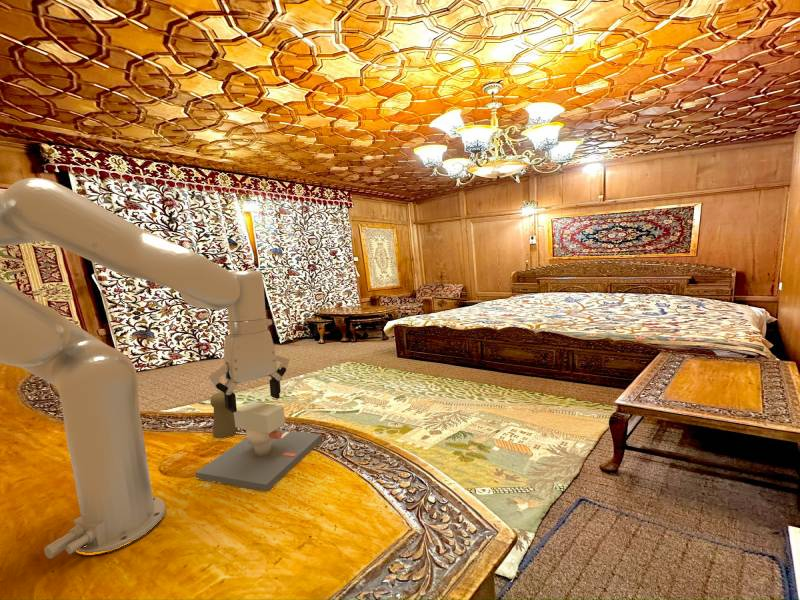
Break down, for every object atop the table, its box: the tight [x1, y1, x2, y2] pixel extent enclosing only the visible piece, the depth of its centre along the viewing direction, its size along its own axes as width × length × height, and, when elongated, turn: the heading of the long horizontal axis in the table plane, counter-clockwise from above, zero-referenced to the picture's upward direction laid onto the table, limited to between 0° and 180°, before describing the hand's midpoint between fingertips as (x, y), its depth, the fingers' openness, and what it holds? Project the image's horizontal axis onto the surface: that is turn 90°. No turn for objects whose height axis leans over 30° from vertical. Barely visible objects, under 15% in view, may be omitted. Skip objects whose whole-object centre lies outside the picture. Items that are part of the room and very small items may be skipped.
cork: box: [210, 391, 239, 439], centre depth 94 cm, size 6×6×11 cm
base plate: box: [195, 428, 323, 493], centre depth 80 cm, size 20×18×4 cm
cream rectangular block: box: [234, 401, 286, 445], centre depth 80 cm, size 10×6×7 cm, turn 65°
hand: (254, 403), depth 79 cm, fingers open, 9 cm apart
